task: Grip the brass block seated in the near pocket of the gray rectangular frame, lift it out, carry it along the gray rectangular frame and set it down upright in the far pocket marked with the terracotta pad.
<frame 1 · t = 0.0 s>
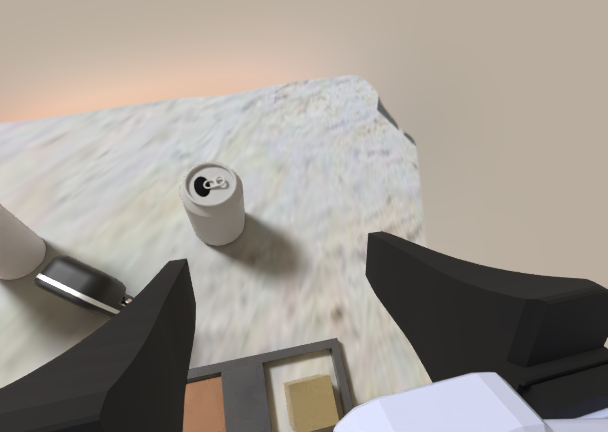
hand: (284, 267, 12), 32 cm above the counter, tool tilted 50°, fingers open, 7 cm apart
battery charger: (115, 300, 41), on the counter
can: (220, 225, 47), on the counter
brass block: (304, 398, 39), resting in gray rectangular frame
coffee cup: (18, 256, 41), on the counter
gray rectangular frame: (247, 413, 37), on the counter
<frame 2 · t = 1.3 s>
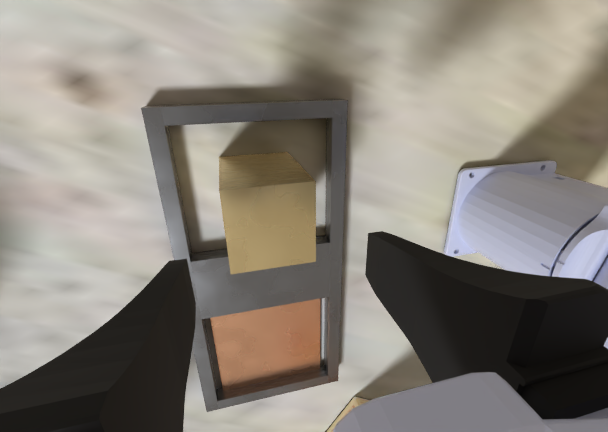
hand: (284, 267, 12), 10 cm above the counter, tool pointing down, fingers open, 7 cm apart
brass block: (256, 186, 22), resting in gray rectangular frame
gray rectangular frame: (264, 272, 24), on the counter
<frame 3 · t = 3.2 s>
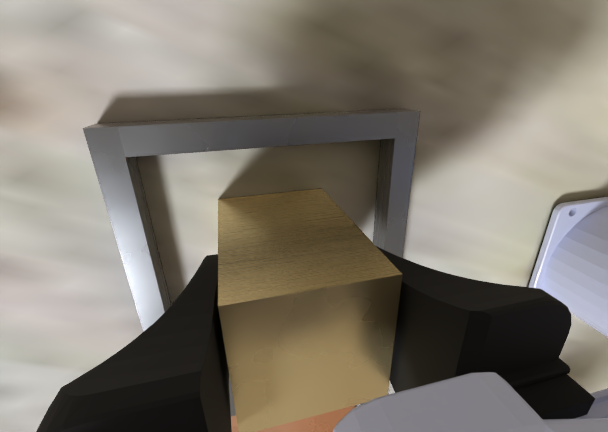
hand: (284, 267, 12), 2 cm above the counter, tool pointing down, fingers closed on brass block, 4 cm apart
brass block: (274, 239, 15), resting in gray rectangular frame, touching gripper
gray rectangular frame: (282, 351, 17), on the counter
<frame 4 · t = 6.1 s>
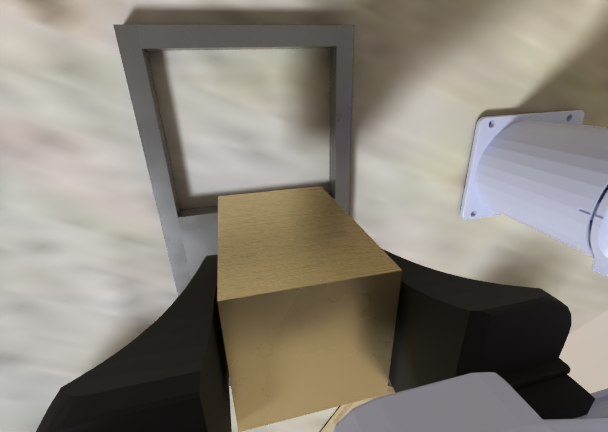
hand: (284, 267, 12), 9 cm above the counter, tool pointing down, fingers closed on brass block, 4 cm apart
brass block: (274, 237, 14), point 7 cm above the counter, touching gripper
gray rectangular frame: (261, 234, 22), on the counter
coffeecake box: (346, 430, 34), on the counter
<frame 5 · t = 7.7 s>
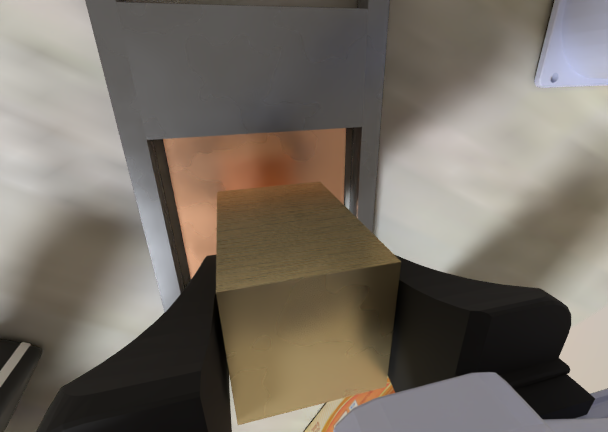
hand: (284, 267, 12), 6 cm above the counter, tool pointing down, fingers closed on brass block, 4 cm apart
brass block: (273, 232, 14), point 3 cm above the counter, touching gripper
gray rectangular frame: (254, 74, 15), on the counter
coffeecake box: (362, 397, 26), on the counter
when the fingers open (4 cm above the counter, at t = 9.0 s): brass block drops 1 cm, resting on gray rectangular frame.
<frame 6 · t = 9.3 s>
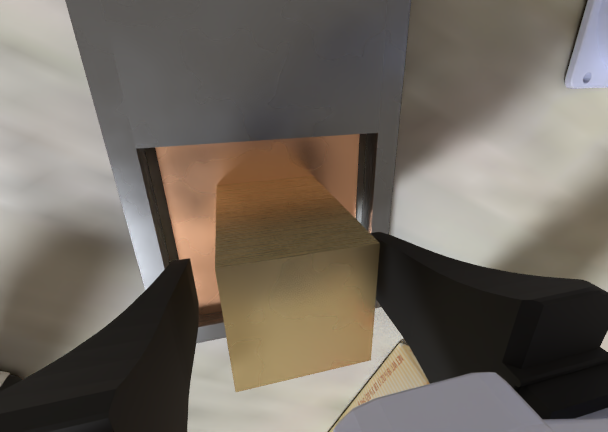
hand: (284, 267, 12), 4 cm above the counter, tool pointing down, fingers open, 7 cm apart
brass block: (269, 224, 15), resting on gray rectangular frame
gray rectangular frame: (258, 74, 13), on the counter
coffeecake box: (372, 418, 25), on the counter
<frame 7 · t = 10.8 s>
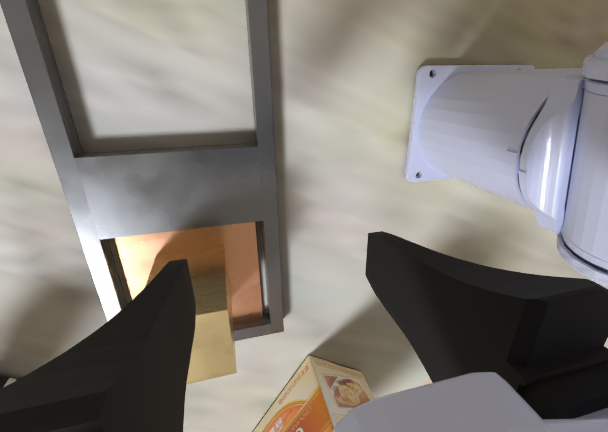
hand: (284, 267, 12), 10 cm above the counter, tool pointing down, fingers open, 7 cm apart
brass block: (196, 277, 23), resting on gray rectangular frame
gray rectangular frame: (181, 187, 20), on the counter
coffeecake box: (295, 413, 32), on the counter
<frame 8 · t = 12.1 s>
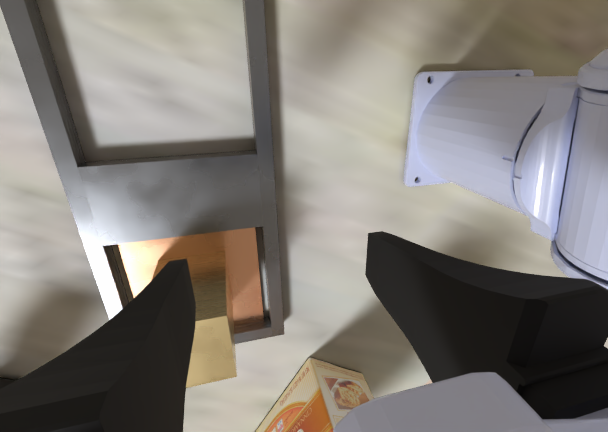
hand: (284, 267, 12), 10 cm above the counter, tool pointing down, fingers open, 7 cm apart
brass block: (197, 281, 23), resting on gray rectangular frame
gray rectangular frame: (182, 193, 21), on the counter
coffeecake box: (296, 414, 32), on the counter
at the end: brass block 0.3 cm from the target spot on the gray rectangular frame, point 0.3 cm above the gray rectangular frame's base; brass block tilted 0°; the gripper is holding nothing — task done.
